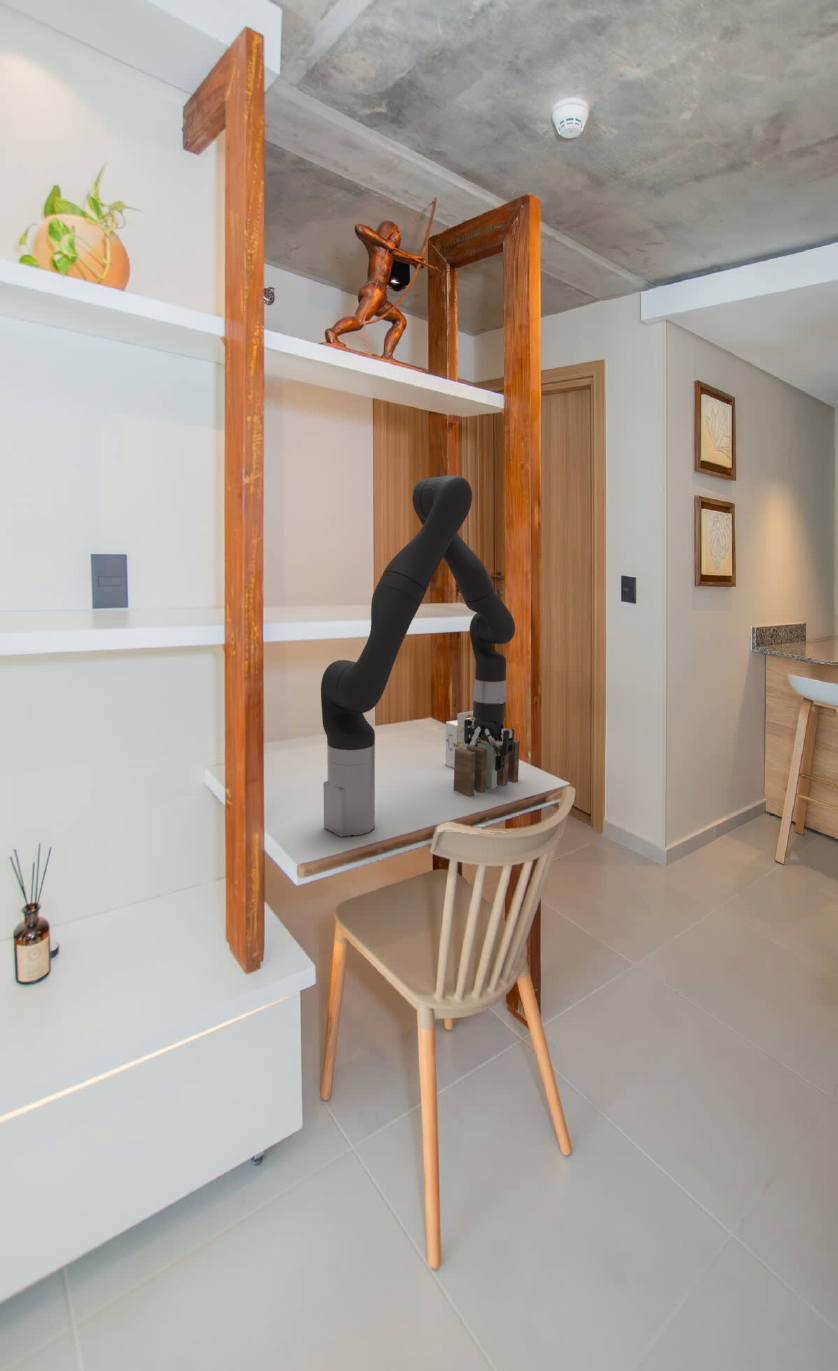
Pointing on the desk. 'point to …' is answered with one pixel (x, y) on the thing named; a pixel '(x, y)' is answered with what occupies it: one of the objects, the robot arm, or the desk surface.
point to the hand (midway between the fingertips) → (487, 766)
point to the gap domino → (490, 765)
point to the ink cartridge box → (455, 737)
